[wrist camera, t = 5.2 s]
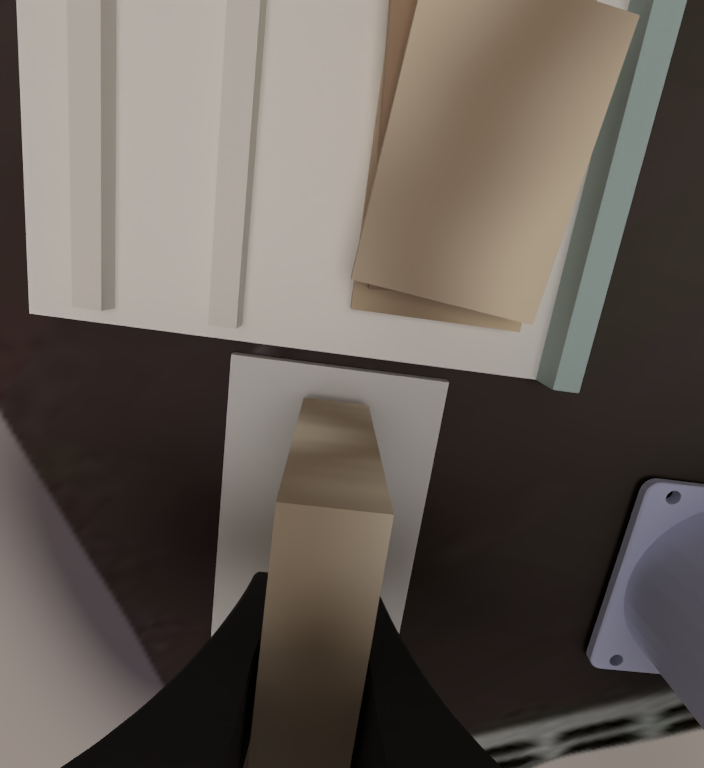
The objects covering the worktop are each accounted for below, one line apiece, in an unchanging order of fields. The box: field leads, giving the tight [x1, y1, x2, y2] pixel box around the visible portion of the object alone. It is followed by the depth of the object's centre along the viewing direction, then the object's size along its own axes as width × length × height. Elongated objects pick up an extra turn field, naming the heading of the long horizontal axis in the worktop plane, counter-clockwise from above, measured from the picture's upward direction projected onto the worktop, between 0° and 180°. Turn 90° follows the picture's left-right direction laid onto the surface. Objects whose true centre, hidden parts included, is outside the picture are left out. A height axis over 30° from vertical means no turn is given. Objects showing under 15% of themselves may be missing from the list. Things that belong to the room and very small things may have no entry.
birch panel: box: [247, 398, 394, 768], centre depth 12 cm, size 2×10×6 cm, turn 173°
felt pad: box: [211, 352, 449, 637], centre depth 16 cm, size 7×12×1 cm, turn 172°
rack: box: [16, 0, 687, 393], centre depth 12 cm, size 17×12×2 cm
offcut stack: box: [350, 0, 640, 332], centre depth 12 cm, size 6×9×2 cm, turn 172°
